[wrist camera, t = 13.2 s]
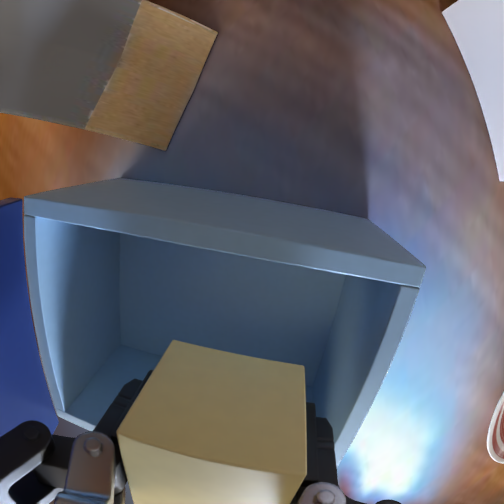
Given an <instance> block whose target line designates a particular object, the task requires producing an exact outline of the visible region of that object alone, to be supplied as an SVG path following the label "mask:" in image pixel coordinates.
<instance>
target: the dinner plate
mask: <svg viewBox="0 0 504 504" xmlns="http://www.w3.org/2000/svg"><path fill="white" fill-rule="evenodd" d="M487 449H488V452H489V454H490V456H491V458H492V459H493V460H495V461H497V462H499V463H503V464H504V391H503V393H502V395H501V398H500V400H499V402H498V404H497V406H496V408H495V411H494V414H493V416H492V419H491V422H490V426H489V430H488V436H487Z"/></svg>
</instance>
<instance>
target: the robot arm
mask: <svg viewBox="0 0 504 504" xmlns="http://www.w3.org/2000/svg"><path fill="white" fill-rule="evenodd" d="M153 371H154V370H150V371H149V372H148V373H147V375H146V376H145V378H144V380H143V381H142V380H139V379H133V380H131V381H130V382H128V383H126V384H125V385H124V386H123V387H122V389H121V390H120V392H119V393H118V396H116V398H115V399H114V401H113V403H111V405H110V406H109V408H108V409H107V411H106V412H105V414H104V415H103V417H102V418H101V420H100V421H99V423H98V424H97V426H96V427H95V428H94V430H93V431H88V432H85V433H82V434H80V435H78V436H77V437H76V438H70V437H63V436H58V435H53V434H51V432H50V430H49V428H48V427H47V426H46V425H45V424H43V423H42V422H39V421H34V420H30V421H25V422H23V423H21V424H19V425H18V426H16V427H15V428H13V429H12V430H10V431H9V432H7V433H6V434H4V435H3V436H1V437H0V504H49V503H50V502H51V501H52V500H53V499H55V501H54V504H125V484H126V482H127V477H126V473H125V469H124V465H123V461H122V457H121V452H120V448H119V443H118V438H117V434H116V431H117V429H118V428H119V426H120V424H121V423H122V421H123V419H124V418H125V416H126V415H127V413H128V411H129V410H130V408H131V406H132V405H133V403H134V401H135V400H136V398H137V397H138V395H139V393H140V392H141V390H142V388H143V387H144V385H145V384H146V382H147V380H148V379H149V377H150V375H151V374H152V372H153ZM306 432H307V475H306V476H305V478H304V480H303V482H302V484H301V485H300V487H299V489H298V491H297V492H296V494H295V496H294V498H293V499H292V501H291V503H290V504H365V503H361V502H358V501H355V500H352V499H350V498H348V497H347V496H346V495H345V494H344V493H343V491H342V490H341V489H340V488H339V485H338V480H337V468H336V457H335V450H334V449H335V446H334V441H333V440H334V436H333V428H332V426H331V425H330V423H329V422H328V420H327V418H322V417H316V409H315V403H310V402H306ZM375 504H401V503H399V502H397V501H394V500H382V501H379V502H377V503H375Z"/></svg>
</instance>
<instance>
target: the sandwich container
mask: <svg viewBox="0 0 504 504" xmlns="http://www.w3.org/2000/svg"><path fill="white" fill-rule="evenodd" d="M217 34H218V32H216V31H214V30H212V29H210V28H208V27H206V26H204V25H202V24H200V23H198V22H196V21H194V20H192V19H189V18H187V17H185V16H183V15H181V14H178V13H176V12H174V11H171V10H169V9H167V8H164V7H162V6H159V5H157V4H155V3H152V2H150V1H147V0H0V113H6V114H12V115H17V116H23V117H28V118H33V119H38V120H43V121H48V122H53V123H58V124H62V125H67V126H71V127H76V128H80V129H84V130H89V131H93V132H97V133H101V134H105V135H109V136H112V137H116V138H120V139H124V140H128V141H131V142H135V143H139V144H142V145H146V146H150V147H153V148H157V149H160V150H163V151H166V149H167V147H168V144H169V142H170V140H171V137H172V135H173V133H174V131H175V128H176V126H177V124H178V122H179V120H180V118H181V115H182V113H183V111H184V109H185V107H186V105H187V103H188V101H189V99H190V97H191V95H192V93H193V90H194V88H195V86H196V83H197V81H198V78H199V76H200V73H201V71H202V68H203V66H204V63H205V61H206V59H207V56H208V54H209V52H210V49H211V47H212V45H213V42H214V40H215V38H216V36H217Z"/></svg>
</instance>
